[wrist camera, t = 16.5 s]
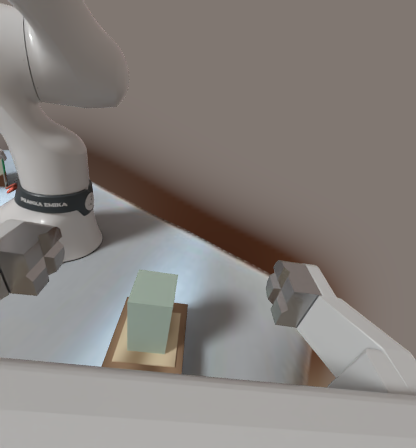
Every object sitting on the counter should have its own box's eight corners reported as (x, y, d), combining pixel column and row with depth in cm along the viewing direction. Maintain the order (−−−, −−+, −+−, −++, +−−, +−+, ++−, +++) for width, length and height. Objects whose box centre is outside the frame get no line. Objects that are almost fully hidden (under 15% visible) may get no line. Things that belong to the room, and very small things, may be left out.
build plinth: (99, 392, 29) (97, 377, 27) (127, 311, 39) (127, 296, 37) (176, 398, 30) (180, 385, 28) (184, 318, 40) (187, 303, 38)
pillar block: (127, 350, 30) (127, 301, 25) (137, 317, 34) (139, 269, 29) (164, 354, 30) (172, 307, 25) (170, 320, 35) (177, 274, 29)
